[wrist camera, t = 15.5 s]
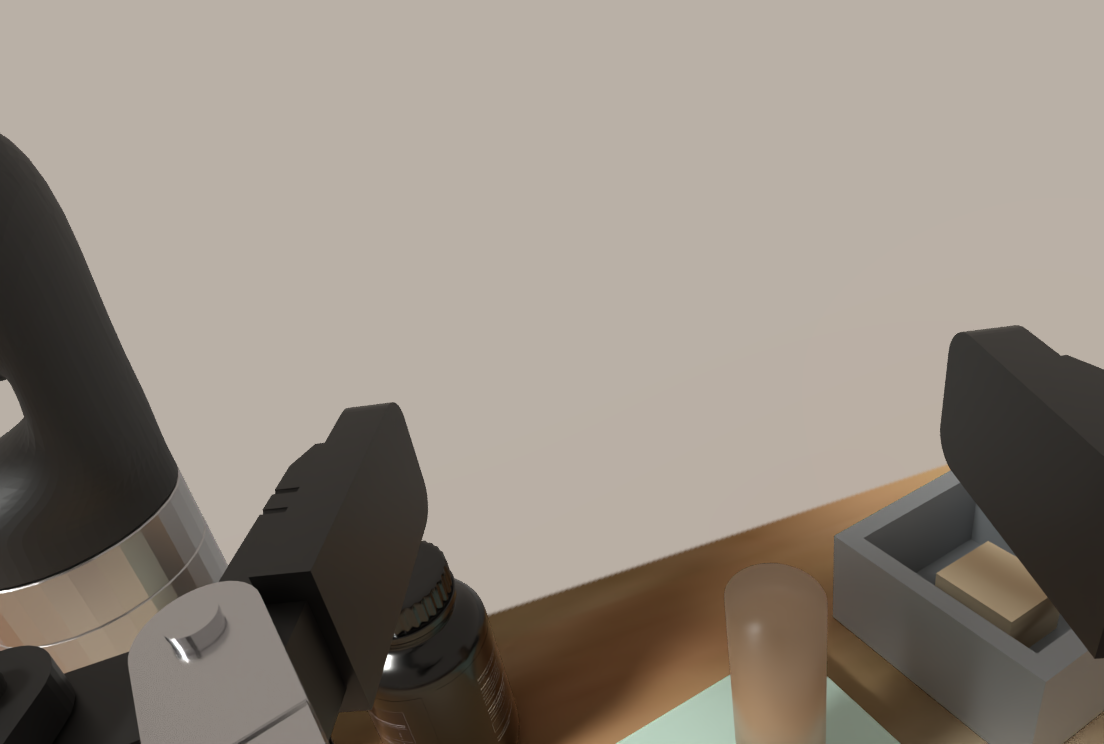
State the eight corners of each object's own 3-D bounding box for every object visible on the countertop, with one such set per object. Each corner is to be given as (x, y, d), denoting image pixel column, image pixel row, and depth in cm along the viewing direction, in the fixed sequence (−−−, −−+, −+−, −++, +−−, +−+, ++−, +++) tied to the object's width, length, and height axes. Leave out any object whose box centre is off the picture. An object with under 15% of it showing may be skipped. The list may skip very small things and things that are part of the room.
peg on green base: (772, 1023, 25) (760, 809, 19) (614, 773, 34) (573, 576, 28) (980, 850, 29) (1024, 625, 23) (788, 666, 38) (783, 470, 32)
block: (1004, 665, 35) (1011, 622, 33) (931, 614, 38) (936, 573, 37) (1056, 628, 36) (1065, 584, 35) (982, 581, 39) (988, 540, 38)
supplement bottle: (463, 666, 42) (410, 506, 36) (547, 726, 37) (502, 554, 32) (368, 756, 37) (292, 591, 32) (450, 837, 33) (378, 660, 28)
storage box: (1025, 773, 31) (1045, 682, 28) (832, 616, 40) (834, 535, 37) (1172, 655, 35) (1202, 564, 32) (965, 535, 44) (975, 456, 41)
